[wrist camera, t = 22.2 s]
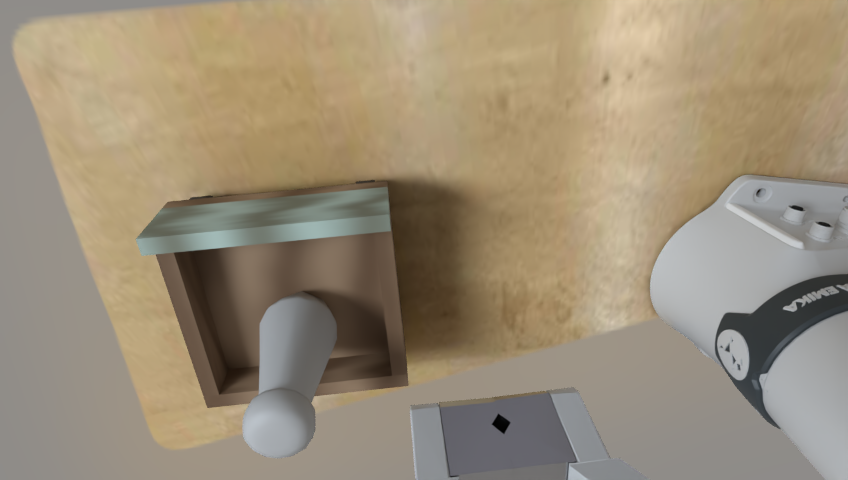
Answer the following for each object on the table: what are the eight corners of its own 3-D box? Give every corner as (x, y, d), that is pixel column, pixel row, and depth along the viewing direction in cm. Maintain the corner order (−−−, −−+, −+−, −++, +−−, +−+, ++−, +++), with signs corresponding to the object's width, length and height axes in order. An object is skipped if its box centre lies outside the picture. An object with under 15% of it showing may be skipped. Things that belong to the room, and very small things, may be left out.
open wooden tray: (386, 167, 43) (389, 214, 35) (404, 331, 50) (409, 401, 42) (180, 186, 42) (135, 239, 34) (229, 350, 50) (201, 424, 42)
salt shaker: (283, 270, 42) (249, 388, 30) (351, 299, 43) (343, 421, 32) (253, 326, 44) (210, 457, 32) (319, 352, 45) (300, 485, 34)
